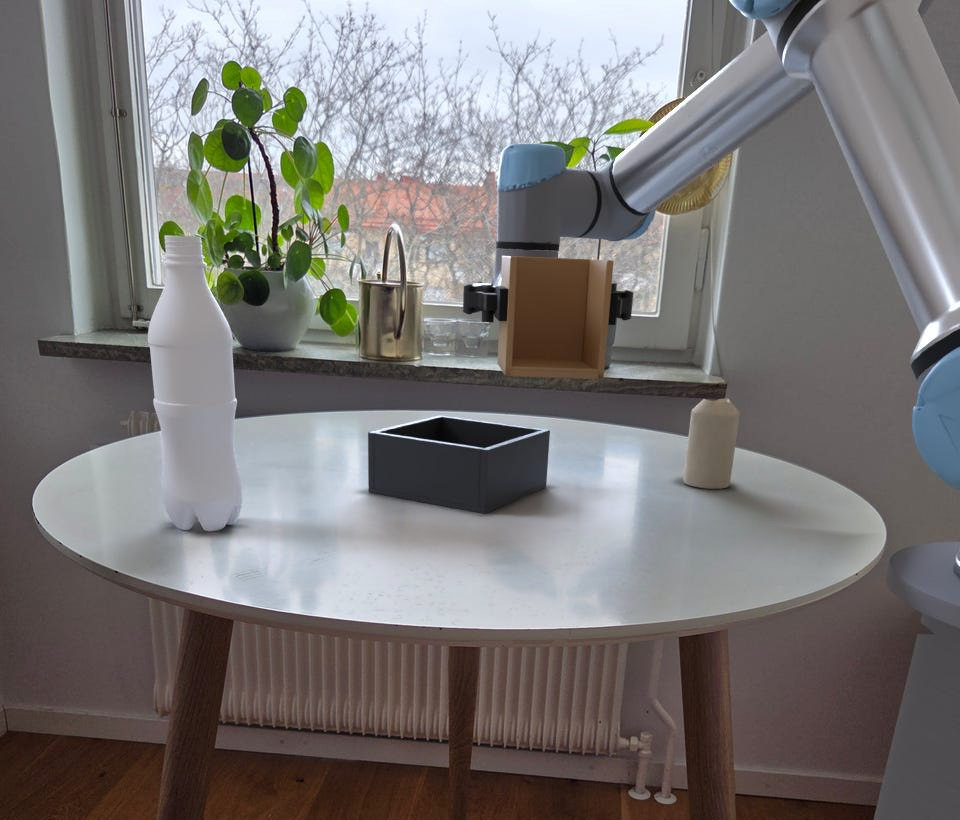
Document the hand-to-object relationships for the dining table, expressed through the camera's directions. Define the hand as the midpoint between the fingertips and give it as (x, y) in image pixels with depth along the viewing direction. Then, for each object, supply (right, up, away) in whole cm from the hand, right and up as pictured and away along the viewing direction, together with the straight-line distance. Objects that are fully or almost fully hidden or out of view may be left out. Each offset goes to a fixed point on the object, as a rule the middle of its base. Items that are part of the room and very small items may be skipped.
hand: (558, 307), depth 83 cm
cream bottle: (+20, -11, +30) cm, 38 cm away
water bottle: (-33, -19, +5) cm, 38 cm away
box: (0, -4, +6) cm, 8 cm away
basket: (-9, -13, +22) cm, 27 cm away
